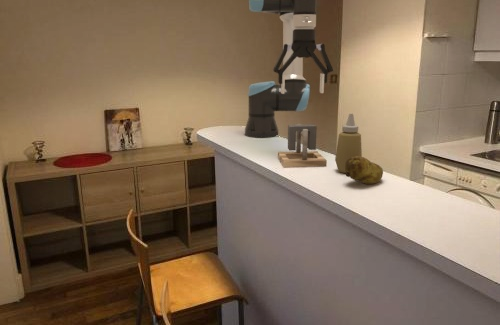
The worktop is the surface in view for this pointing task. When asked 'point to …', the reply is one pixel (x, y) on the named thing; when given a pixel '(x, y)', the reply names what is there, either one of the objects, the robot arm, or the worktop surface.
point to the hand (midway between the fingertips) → (302, 93)
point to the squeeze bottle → (348, 144)
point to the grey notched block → (294, 128)
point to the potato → (363, 170)
